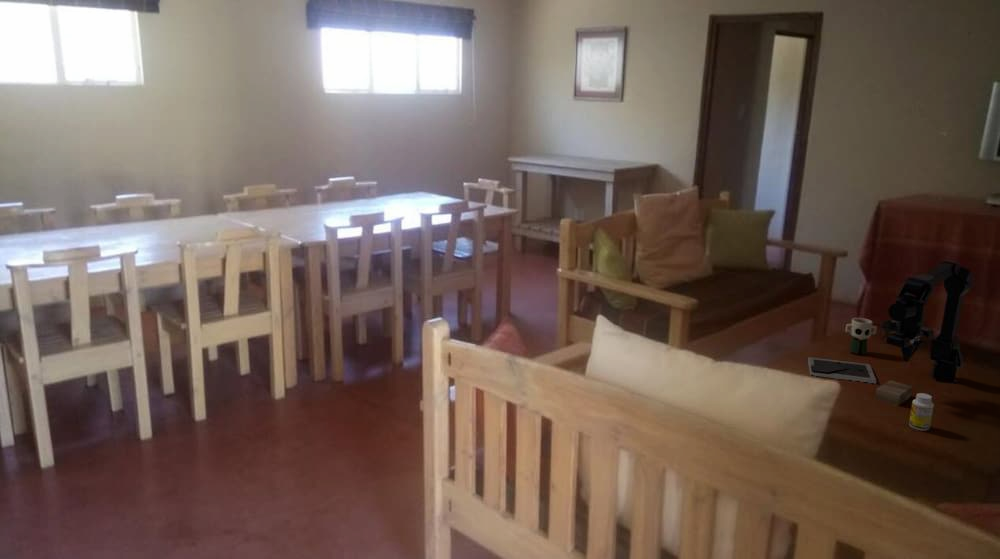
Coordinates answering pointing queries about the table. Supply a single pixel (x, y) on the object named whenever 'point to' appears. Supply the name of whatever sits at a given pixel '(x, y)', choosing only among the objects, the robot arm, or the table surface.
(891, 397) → the streaky grey slab
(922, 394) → the supplement bottle
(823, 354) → the table surface
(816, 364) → the picture frame
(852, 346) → the character mug
